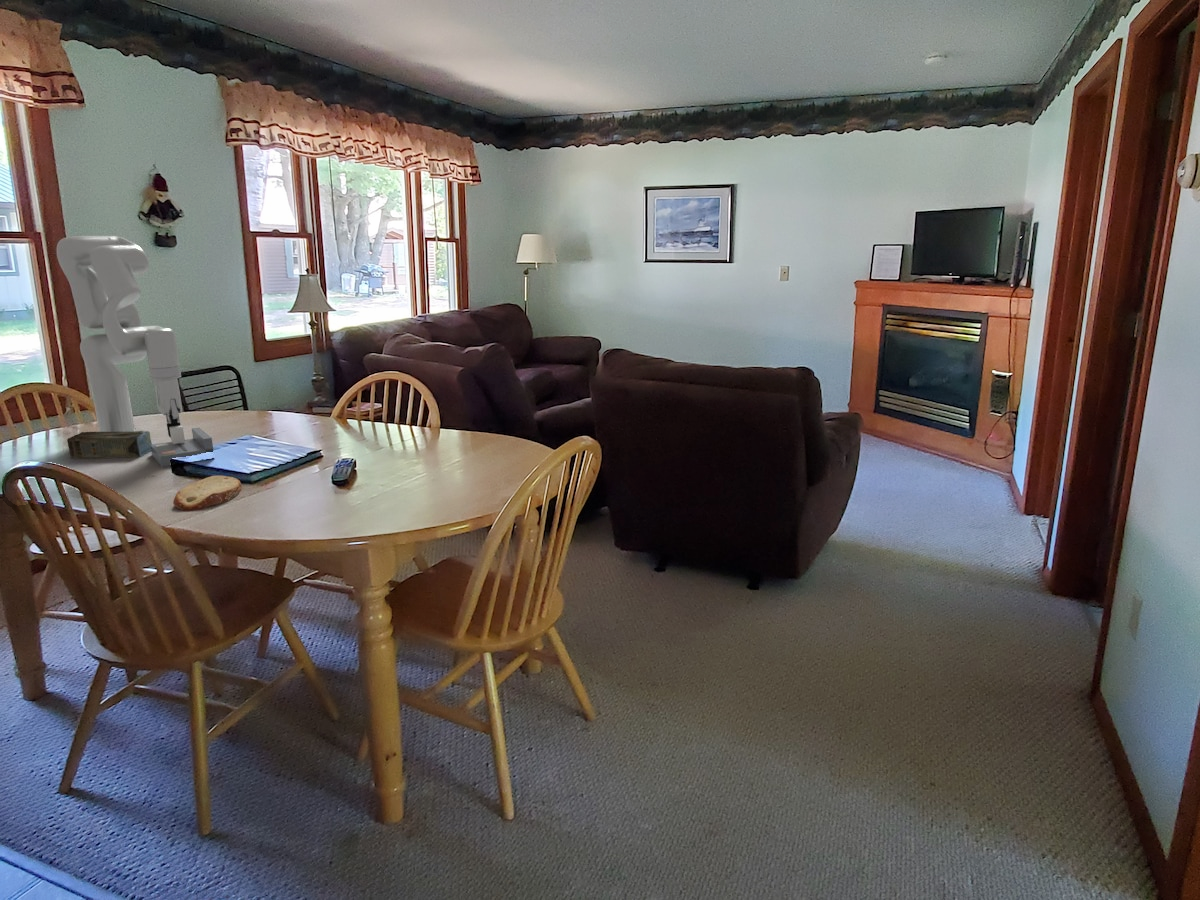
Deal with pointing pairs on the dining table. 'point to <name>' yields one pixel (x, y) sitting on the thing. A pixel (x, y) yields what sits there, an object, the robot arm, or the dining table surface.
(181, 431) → the knob
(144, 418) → the dining table surface
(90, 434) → the beverage carton
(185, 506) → the bread slice
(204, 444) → the grey slide switch panel
